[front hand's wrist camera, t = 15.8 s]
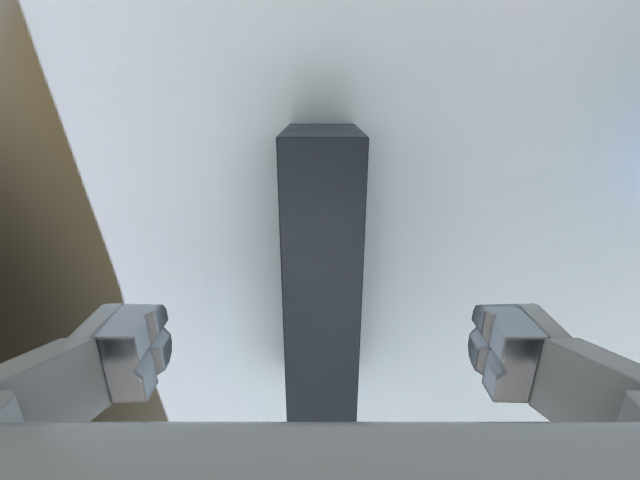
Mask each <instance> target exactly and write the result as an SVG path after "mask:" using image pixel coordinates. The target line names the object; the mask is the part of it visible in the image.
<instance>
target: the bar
mask: <svg viewBox="0 0 640 480" xmlns="http://www.w3.org/2000/svg"><path fill="white" fill-rule="evenodd" d="M276 150H277V176H278V202H279V228H280V254H281V280H282V306H283V332H284V358H285V384H286V410H287V422H356V421H357V398H358V376H359V353H360V331H361V308H362V286H363V263H364V241H365V218H366V196H367V173H368V151H369V137H368V136H367V135H365V134H364V133H363V132H362V131H361V130H360V129H359V128H358V127H357V126H356V125H355V124H289V125H288V126H287V127H286V128H285V129H284V130H283V131H282V132H281V133H280V134H279V135H278V136H277V137H276Z"/></svg>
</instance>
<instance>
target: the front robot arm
mask: <svg viewBox="0 0 640 480" xmlns="http://www.w3.org/2000/svg"><path fill="white" fill-rule="evenodd" d="M167 321H168V316H167V311H166V308H165V307H164V306H163V305H154V304H103V305H101V306H100V307H99V308H98V309H97V310H96V311H95V312H94V313H93V314H92V315H91V316H90V317H89V318H88V319H86V320H85V321H84V322H83V323H82V324H81V325H80V326H79V327H78V328H77V329H76V330H75V331H74V332H73V333H72V334H71V335H70V336H69V337H68V338H60V339H58V340H55V341H53V342H50V343H48V344H46V345H43V346H41V347H39V348H36V349H34V350H32V351H29V352H27V353H25V354H22V355H20V356H17V357H15V358H13V359H10V360H8V361H6V362H3V363H1V364H0V480H640V364H639V363H637V362H634V361H632V360H630V359H627V358H625V357H622V356H620V355H618V354H615V353H613V352H611V351H608V350H606V349H604V348H601V347H599V346H597V345H594V344H592V343H589V342H587V341H585V340H582V339H580V338H572V337H571V336H570V335H569V334H568V333H567V332H566V331H565V330H564V329H563V328H562V327H561V326H560V325H559V324H558V323H557V322H556V321H555V320H554V319H553V318H552V317H550V316H549V315H548V314H547V313H546V312H545V311H544V310H543V309H542V308H541V307H540V306H539V305H537V304H534V303H533V304H498V305H476V306H475V308H474V310H473V315H472V321H473V322H474V324H475V325H476V328H475V329H474V330H473V331H472V332H471V333H470V334H469V341H468V351H469V357H470V361H471V364H472V365H473V367H474V369H475V370H476V371H477V372H479V373H480V374H482V375H483V379H482V384H483V385H484V387H485V389H486V391H487V392H488V394H489V396H490V398H491V399H492V401H493V402H510V403H529V405H530V406H531V407H532V408H534V409H535V410H536V411H538V412H539V413H540V414H542V415H543V416H544V417H546V418H547V419H548V420H549V421H551V422H89V421H91V420H92V419H93V418H94V417H96V416H97V415H98V414H100V413H101V412H102V411H104V410H105V409H106V408H108V407H109V406H110V405H111V403H129V402H147V401H148V399H149V398H150V396H151V394H152V392H153V391H154V389H155V387H156V385H157V384H158V379H157V375H158V374H160V373H161V372H163V371H164V370H165V369H166V367H167V365H168V364H169V361H170V357H171V352H172V340H171V334H170V333H169V332H168V331H167V330H166V329H165V328H164V325H165V324H166V322H167Z"/></svg>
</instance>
